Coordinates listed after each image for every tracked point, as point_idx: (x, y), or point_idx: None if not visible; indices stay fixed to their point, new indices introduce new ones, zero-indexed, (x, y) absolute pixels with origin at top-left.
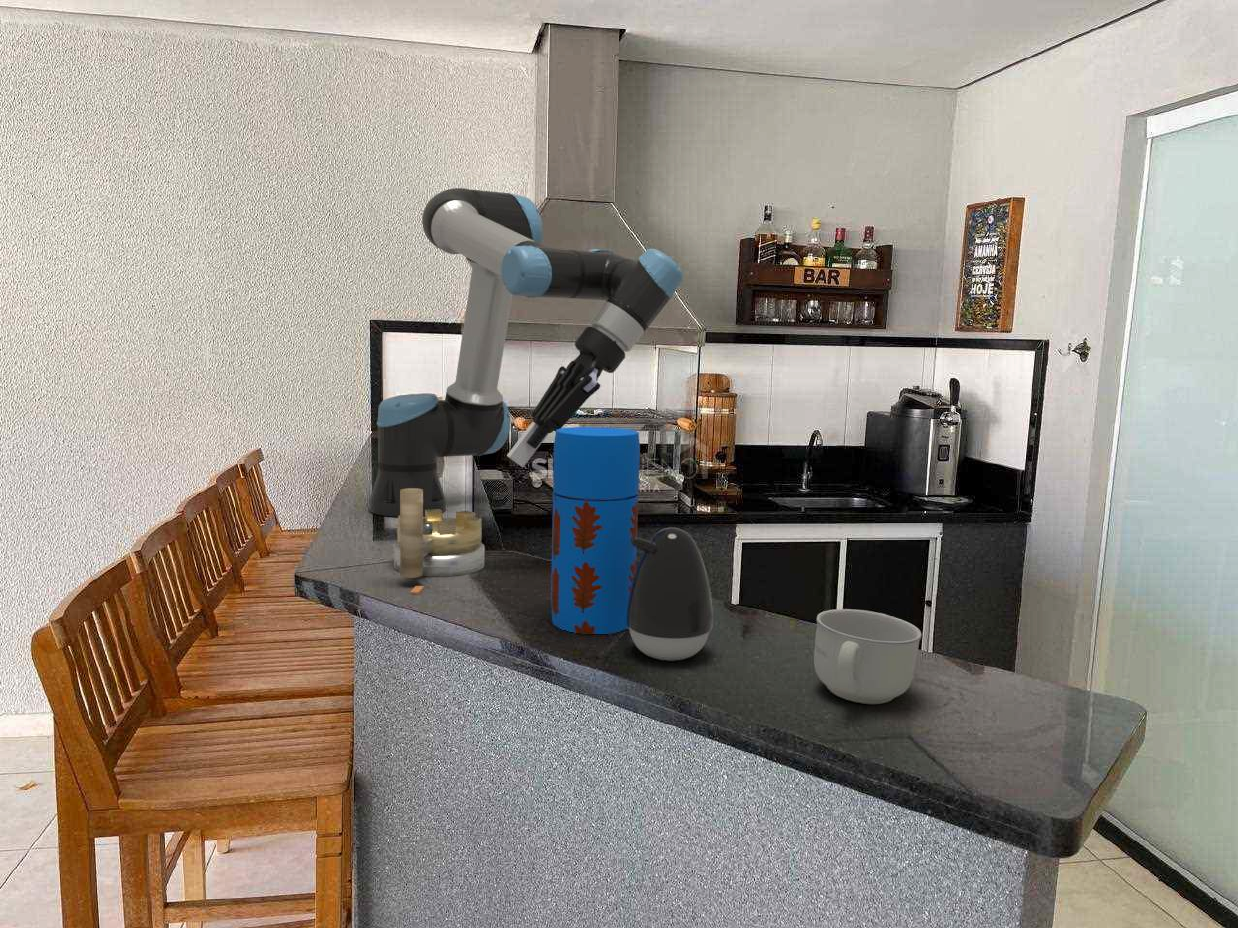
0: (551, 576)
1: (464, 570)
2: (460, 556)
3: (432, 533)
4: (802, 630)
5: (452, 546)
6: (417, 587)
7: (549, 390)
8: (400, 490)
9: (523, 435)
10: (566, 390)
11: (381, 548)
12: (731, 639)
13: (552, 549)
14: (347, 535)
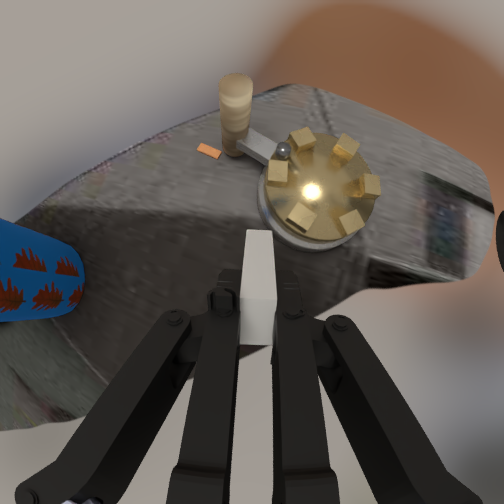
0: (47, 236)
1: (260, 212)
2: (260, 201)
3: (278, 159)
4: (19, 414)
5: (264, 187)
6: (214, 151)
7: (384, 421)
8: (238, 73)
9: (264, 265)
10: (180, 462)
11: (394, 167)
12: (9, 356)
13: (26, 228)
14: (442, 158)
